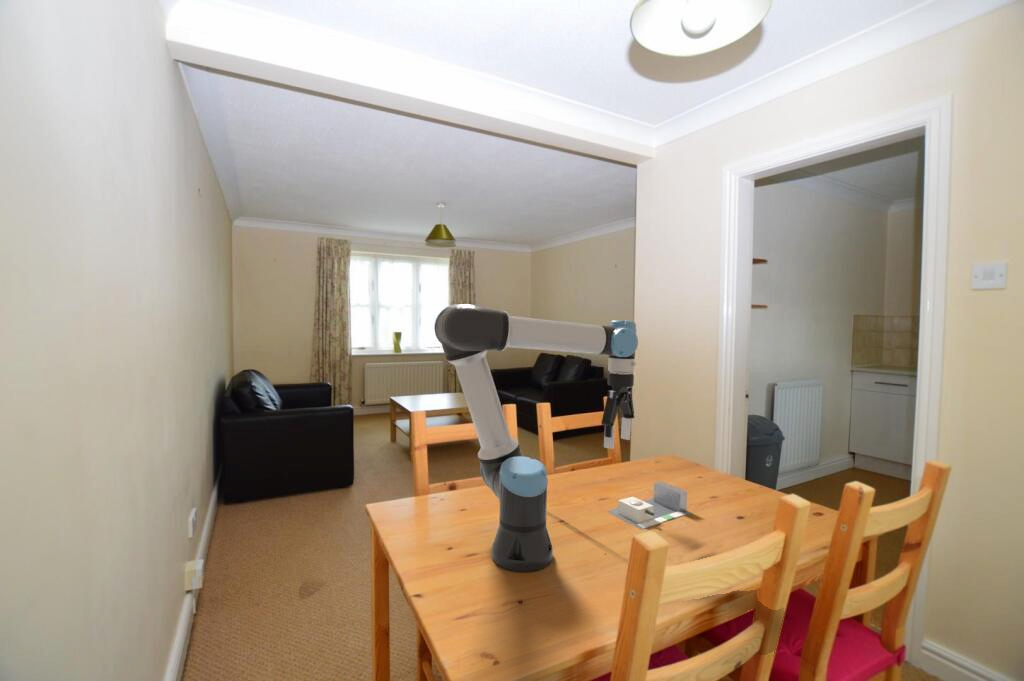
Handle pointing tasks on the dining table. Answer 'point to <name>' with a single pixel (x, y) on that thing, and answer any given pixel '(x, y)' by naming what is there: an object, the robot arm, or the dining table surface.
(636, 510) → the gauge carriage
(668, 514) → the gauge board
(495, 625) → the dining table surface
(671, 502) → the upright metal panel
